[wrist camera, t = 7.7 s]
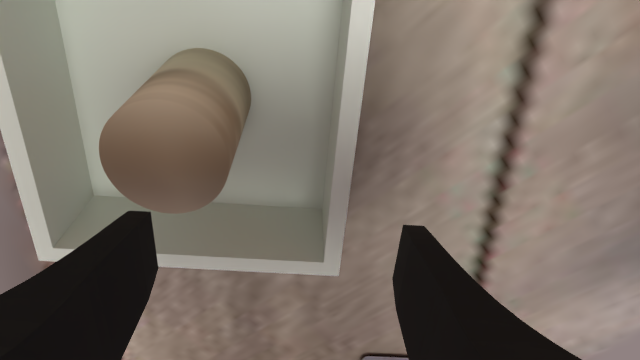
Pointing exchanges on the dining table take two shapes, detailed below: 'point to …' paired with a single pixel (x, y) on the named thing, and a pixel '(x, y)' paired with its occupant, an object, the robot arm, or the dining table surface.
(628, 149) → the dining table surface
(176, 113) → the birch cylinder
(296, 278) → the dining table surface
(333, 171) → the sage bin
